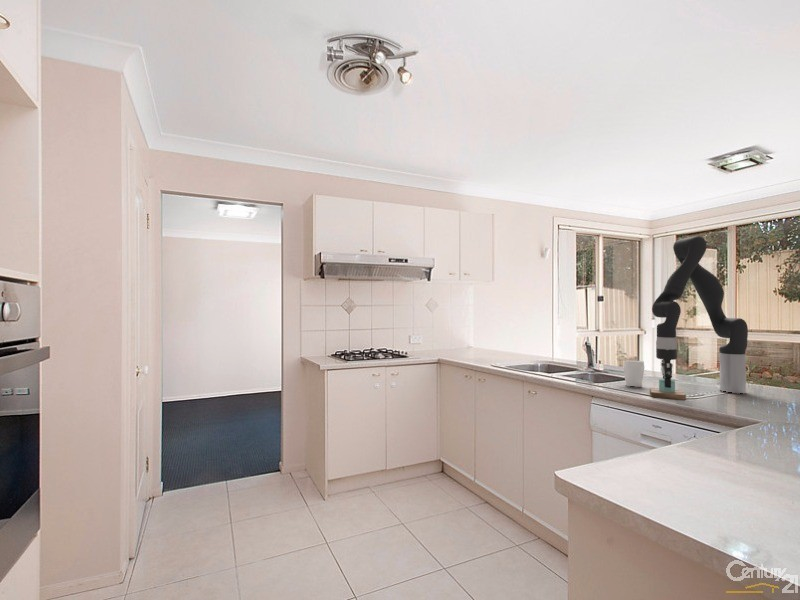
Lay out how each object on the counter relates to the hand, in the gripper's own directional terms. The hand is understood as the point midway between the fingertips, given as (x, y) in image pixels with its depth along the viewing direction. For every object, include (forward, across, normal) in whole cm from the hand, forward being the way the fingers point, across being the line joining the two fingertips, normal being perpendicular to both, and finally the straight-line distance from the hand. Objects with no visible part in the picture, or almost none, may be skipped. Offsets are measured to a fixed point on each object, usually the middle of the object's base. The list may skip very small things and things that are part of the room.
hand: (666, 385), depth 177 cm
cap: (+2, 0, 0) cm, 2 cm away
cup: (+4, -21, -12) cm, 25 cm away
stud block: (+4, 0, 0) cm, 4 cm away
